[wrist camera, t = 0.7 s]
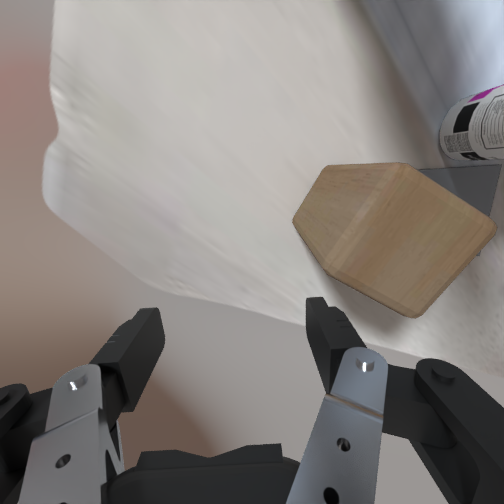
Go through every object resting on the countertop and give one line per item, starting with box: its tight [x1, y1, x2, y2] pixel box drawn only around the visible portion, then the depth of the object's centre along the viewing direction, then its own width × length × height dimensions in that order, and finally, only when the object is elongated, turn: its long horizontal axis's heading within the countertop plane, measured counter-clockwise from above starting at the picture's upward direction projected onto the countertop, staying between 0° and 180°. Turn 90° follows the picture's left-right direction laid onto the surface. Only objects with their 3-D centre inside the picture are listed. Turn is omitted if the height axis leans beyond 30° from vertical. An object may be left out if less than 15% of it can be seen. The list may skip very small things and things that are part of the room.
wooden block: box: [292, 162, 497, 319], centre depth 28 cm, size 10×10×20 cm
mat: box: [418, 165, 502, 256], centre depth 38 cm, size 14×18×1 cm
